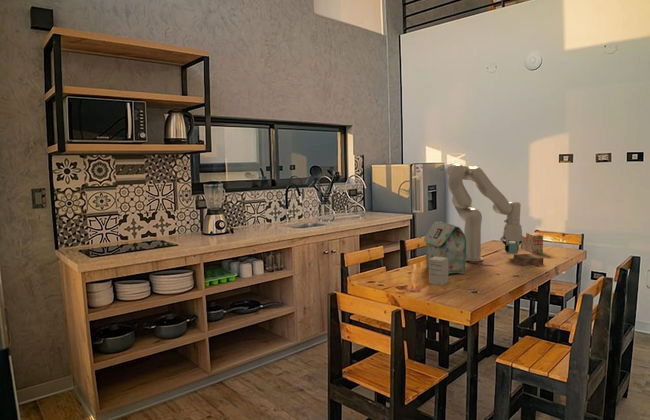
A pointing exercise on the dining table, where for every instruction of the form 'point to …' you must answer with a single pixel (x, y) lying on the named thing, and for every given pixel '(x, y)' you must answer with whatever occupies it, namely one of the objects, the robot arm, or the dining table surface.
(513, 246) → the teal block
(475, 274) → the dining table surface
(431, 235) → the lunch bag
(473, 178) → the robot arm
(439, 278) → the supplement box
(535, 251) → the stack of blocks
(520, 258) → the walnut block
